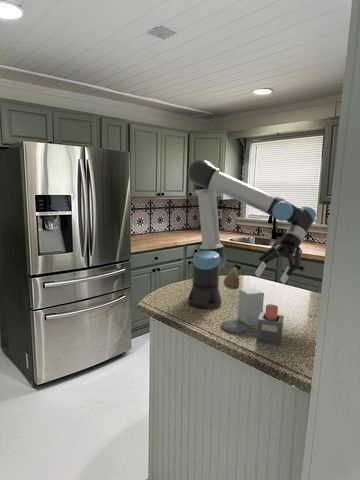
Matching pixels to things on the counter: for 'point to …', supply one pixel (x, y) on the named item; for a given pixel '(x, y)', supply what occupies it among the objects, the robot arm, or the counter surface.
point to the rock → (232, 278)
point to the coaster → (235, 326)
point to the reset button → (271, 312)
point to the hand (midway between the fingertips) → (269, 278)
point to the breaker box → (270, 329)
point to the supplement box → (250, 305)
